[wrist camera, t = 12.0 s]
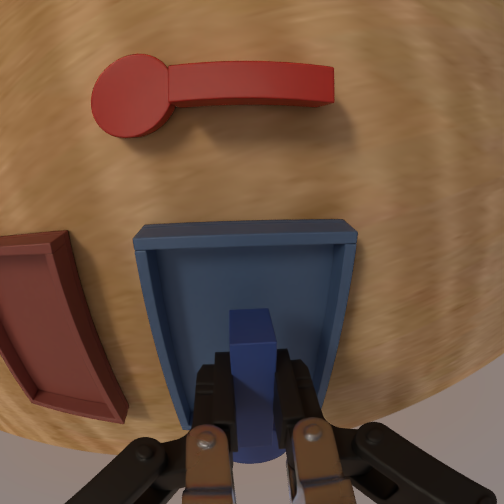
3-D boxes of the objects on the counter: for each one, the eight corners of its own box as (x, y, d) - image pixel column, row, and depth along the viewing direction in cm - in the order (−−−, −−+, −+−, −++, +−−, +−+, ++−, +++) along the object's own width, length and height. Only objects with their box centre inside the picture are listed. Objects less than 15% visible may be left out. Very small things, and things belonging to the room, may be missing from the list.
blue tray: (144, 224, 14) (131, 238, 12) (343, 218, 14) (358, 231, 12) (184, 410, 20) (182, 430, 18) (311, 404, 20) (317, 423, 18)
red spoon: (102, 142, 12) (79, 145, 10) (101, 68, 10) (79, 58, 8) (317, 131, 12) (334, 131, 10) (317, 55, 11) (333, 41, 9)
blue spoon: (284, 446, 15) (290, 476, 12) (220, 450, 14) (220, 480, 12) (297, 305, 11) (312, 338, 9) (199, 310, 11) (192, 345, 9)
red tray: (-27, 239, 13) (-44, 250, 11) (68, 229, 13) (49, 243, 12) (39, 388, 19) (31, 403, 17) (129, 405, 19) (124, 424, 18)
